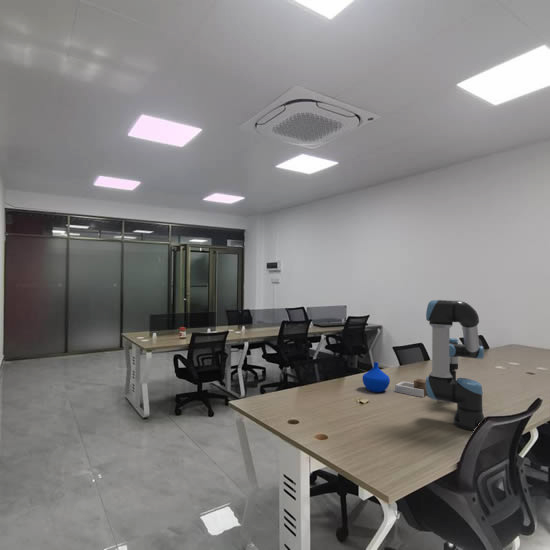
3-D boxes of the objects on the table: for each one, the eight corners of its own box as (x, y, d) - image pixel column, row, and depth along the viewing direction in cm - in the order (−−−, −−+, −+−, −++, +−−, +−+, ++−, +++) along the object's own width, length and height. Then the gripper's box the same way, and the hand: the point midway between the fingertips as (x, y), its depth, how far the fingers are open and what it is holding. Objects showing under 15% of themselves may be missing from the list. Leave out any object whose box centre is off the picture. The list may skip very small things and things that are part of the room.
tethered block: (456, 399, 229) (456, 383, 229) (453, 402, 223) (453, 386, 224) (417, 391, 244) (417, 377, 245) (413, 394, 239) (413, 379, 239)
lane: (429, 392, 243) (429, 386, 243) (423, 397, 233) (423, 390, 233) (402, 387, 255) (402, 381, 255) (395, 391, 245) (395, 385, 245)
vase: (380, 395, 235) (380, 366, 235) (357, 389, 248) (357, 362, 249) (394, 390, 247) (394, 363, 247) (372, 385, 260) (372, 358, 261)
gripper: (448, 359, 237) (448, 395, 236) (441, 363, 224) (441, 401, 223) (461, 361, 232) (461, 397, 232) (454, 365, 219) (454, 403, 218)
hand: (451, 399), depth 227 cm, fingers closed on tethered block, 4 cm apart
